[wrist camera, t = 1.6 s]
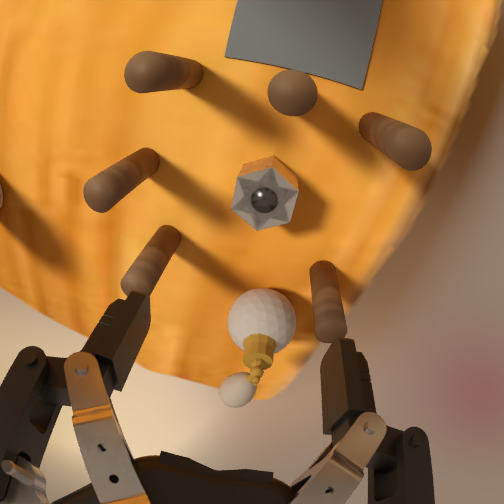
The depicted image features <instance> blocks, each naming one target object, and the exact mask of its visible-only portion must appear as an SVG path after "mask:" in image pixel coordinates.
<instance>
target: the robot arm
mask: <svg viewBox="0 0 504 504" xmlns="http://www.w3.org/2000/svg"><path fill="white" fill-rule="evenodd" d="M150 322H151V314H150V296H149V294H145V293H141V292H138V291H134V290H132V291H131V292H130V294H129V295H128V297H127V298H126V300H122V299H117V300H116V301H115V302H113V303H112V304H110V305H109V307H108V308H107V310H106V311H105V313H104V315H103V316H102V318H101V319H100V321H99V323H98V324H97V326H96V327H95V329H94V330H93V332H92V334H91V335H90V337H89V339H88V340H87V342H86V344H85V346H84V347H83V349H82V350H81V351H80V352H76V353H73V354H72V355H70V356H69V357H68V358H58V357H49V356H46V355H45V353H44V351H43V350H42V349H40V348H39V347H36V346H30V347H26V348H24V349H22V350H21V351H20V352H19V354H18V356H17V357H16V359H15V361H14V363H13V364H12V366H11V368H10V369H9V371H8V373H7V375H6V377H5V379H4V380H3V382H2V384H1V386H0V504H345V502H346V501H347V500H348V498H349V497H350V495H351V494H352V493H353V492H354V490H355V489H356V488H357V486H358V485H359V483H360V482H361V480H362V479H363V476H364V473H363V470H364V468H365V467H367V468H368V504H435V500H434V486H433V474H432V465H431V457H430V448H429V441H428V437H427V435H426V433H425V432H424V431H423V430H422V429H420V428H418V427H410V428H408V429H407V430H405V431H401V430H398V429H395V428H392V427H389V426H387V425H386V423H385V421H384V419H383V418H382V417H381V416H380V415H378V414H377V413H376V408H375V402H374V396H373V390H372V385H371V382H370V381H371V379H370V375H369V368H368V363H367V361H366V359H365V358H364V356H363V354H362V352H356V347H355V342H354V340H353V339H348V338H342V337H336V338H335V339H334V340H333V342H332V344H331V345H330V347H329V349H328V350H327V352H326V354H325V355H324V357H323V359H322V362H321V368H320V374H321V393H322V416H323V434H327V435H332V441H331V442H330V443H329V444H328V445H327V447H326V448H325V449H324V450H323V451H322V452H321V453H320V455H319V456H318V457H317V458H316V459H315V460H314V462H313V463H312V464H311V465H310V466H309V467H308V469H307V470H305V472H304V473H302V474H301V475H300V476H299V477H298V478H297V479H296V480H295V481H294V482H292V484H291V485H290V486H288V485H287V484H285V483H284V482H282V481H280V480H278V479H275V478H273V472H266V471H258V470H250V469H241V470H240V469H239V470H222V471H217V470H213V469H211V468H209V467H207V466H204V465H202V464H200V463H198V462H196V461H194V460H192V459H190V458H187V457H182V456H179V455H175V454H171V453H168V452H164V451H161V453H160V456H157V455H154V456H144V457H139V458H136V459H134V458H133V456H132V454H131V451H130V449H129V447H128V444H127V442H126V440H125V438H124V435H123V433H122V430H121V427H120V424H119V422H118V419H117V416H116V413H115V410H114V408H113V405H112V401H111V399H110V397H111V394H112V392H113V390H114V389H115V390H118V391H120V392H121V391H122V389H123V386H124V384H125V382H126V380H127V377H128V375H129V373H130V371H131V368H132V366H133V363H134V362H135V359H136V357H137V355H138V353H139V350H140V348H141V346H142V344H143V342H144V340H145V337H146V335H147V333H148V331H149V327H150ZM62 405H65V406H72V410H73V416H72V421H73V427H74V430H75V434H76V437H77V441H78V444H79V447H80V451H81V454H82V456H83V460H84V463H85V466H86V468H87V471H88V474H89V477H90V479H91V482H92V483H90V484H88V485H86V486H84V487H82V488H80V489H79V490H77V491H75V492H73V493H71V494H69V495H67V496H64V497H62V498H61V499H58V500H56V501H54V502H52V503H50V502H49V500H48V498H47V496H46V479H45V476H44V474H43V473H42V472H41V470H40V469H39V467H40V464H41V461H42V458H43V455H44V452H45V449H46V447H47V444H48V441H49V438H50V436H51V433H52V430H53V428H54V425H55V423H56V420H57V418H58V415H59V413H60V410H61V408H62Z"/></svg>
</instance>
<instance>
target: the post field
mask: <svg viewBox="0 0 504 504" xmlns="http://www.w3.org/2000/svg"><path fill="white" fill-rule="evenodd" d="M124 76H125V81H126V84H127V85H128V87H129V88H130V89H131V90H133V91H135V92H137V93H149V92H157V91H166V90H176V89H188V88H193V87H195V86H196V85H198V84H199V83H200V81H201V80H202V77H203V69H202V66H201V65H200V64H199V63H198V62H197V61H195V60H191V59H187V58H182V57H178V56H173V55H168V54H163V53H158V52H152V51H143V52H140V53H137V54H136V55H134V56H133V57H132V58H131V59H130V60H129V62H128V63H127V65H126V68H125V73H124ZM317 94H318V93H317V87H316V84H315V83H314V81H313V80H312V78H311V77H310V76H308V75H307V74H306V73H304V72H302V71H299V70H285V71H282V72H280V73H278V74H277V75H275V76H274V77H273V78H272V80H271V81H270V83H269V86H268V98H269V101H270V103H271V104H272V106H273V107H274V108H275V109H276V110H277V111H278V112H280V113H282V114H284V115H288V116H299V115H303V114H305V113H307V112H308V111H309V110H311V109H312V108H313V106H314V105H315V103H316V100H317ZM359 132H360V134H361V136H362V137H363V138H364V139H365V140H367V141H368V142H370V143H371V144H372V145H374V146H375V147H376V148H378V149H379V150H380V151H382V152H383V153H384V154H386V155H387V156H388V157H389V158H391V159H392V160H393V161H395V162H396V163H397V164H398V165H400V166H401V167H402V168H404V169H406V170H411V171H414V170H418V169H420V168H422V167H423V166H425V165H426V164H427V162H428V161H429V159H430V156H431V142H430V140H429V138H428V136H427V135H426V134H425V133H424V132H423V131H422V130H420V129H418V128H415V127H413V126H410V125H408V124H405V123H403V122H400V121H398V120H395V119H392V118H389V117H387V116H384V115H381V114H378V113H374V112H371V113H367V114H365V115H364V116H363V117H362V118H361V119H360V122H359ZM158 167H159V157H158V155H157V154H156V152H155V151H154V150H152V149H150V148H142V149H140V150H138V151H136V152H134V153H133V154H131V155H129V156H127V157H126V158H124V159H122V160H120V161H119V162H117V163H115V164H114V165H112V166H110V167H109V168H107V169H105V170H104V171H102V172H100V173H99V174H97V175H96V176H94V177H92V178H91V179H89V180H88V181H87V182H86V184H85V186H84V198H85V201H86V203H87V204H88V206H89V207H90V208H91V209H93V210H94V211H96V212H100V213H104V212H107V211H108V210H110V209H111V208H112V207H113V206H114V205H115V204H117V203H118V202H119V201H120V200H121V199H122V198H124V197H125V196H126V195H127V194H128V193H130V192H131V191H132V190H133V189H134V188H136V187H137V186H138V185H139V184H141V183H142V182H143V181H144V180H146V179H147V178H148V177H149V176H151V175H152V174H153V173H154V172H156V170H157V169H158ZM180 241H181V237H180V234H179V232H178V231H177V229H175V228H174V227H172V226H169V225H164V226H161V227H160V228H159V229H158V230H157V231H156V233H155V234H154V235H153V237H152V238H151V239H150V241H149V242H148V243H147V245H146V246H145V247H144V249H143V250H142V252H141V253H140V254H139V256H138V257H137V258H136V260H135V261H134V263H133V264H132V265H131V267H130V268H129V270H128V271H127V273H126V274H125V275H124V277H123V278H122V280H121V288H122V290H123V292H124V293H125V294H126V295H127V296H128V295H129V294H130V292H131V291H132V290H134V291H138V292H141V293H145V294H149V296H150V295H151V293H152V291H153V289H154V287H155V285H156V284H157V282H158V280H159V278H160V276H161V275H162V273H163V271H164V269H165V268H166V266H167V264H168V262H169V261H170V259H171V257H172V255H173V254H174V252H175V250H176V248H177V247H178V245H179V243H180ZM310 281H311V292H312V303H313V315H314V328H315V336H316V338H317V339H318V340H319V341H321V342H324V343H332V342H333V340H334V339H335V338H336V337H342V338H344V337H345V335H346V334H347V326H346V320H345V315H344V310H343V305H342V300H341V295H340V290H339V285H338V281H337V276H336V271H335V267H334V265H333V264H332V263H330V262H328V261H318V262H316V263H314V264H313V265H312V266H311V268H310Z"/></svg>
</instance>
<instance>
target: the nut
mask: <svg viewBox="0 0 504 504" xmlns="http://www.w3.org/2000/svg"><path fill="white" fill-rule="evenodd" d="M298 193H299V188H298V181H297V176H296V175H295V174H294V173H293V172H291V171H290V170H289V169H288V168H287V167H286V166H285V165H284V164H283V163H282V162H281V161H279V160H278V159H277V158H276V157H275V156H270V157H267V158H263V159H260V160H256V161H253V162H249V163H246V164H243V166H242V168H241V170H240V173H239V175H238V177H237V181H236V186H235V192H234V197H233V202H232V208H231V210H233V211H234V212H235V213H236V214H237V215H239V216H240V217H241V218H242V219H243V220H245V221H246V222H247V223H248V224H250V225H251V226H252V227H253V228H254V229H256V230H257V231H258V230H262V229H266V228H270V227H274V226H278V225H282V224H286V223H290V220H291V217H292V214H293V210H294V207H295V203H296V200H297V196H298Z"/></svg>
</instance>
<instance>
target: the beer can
mask: <svg viewBox="0 0 504 504" xmlns="http://www.w3.org/2000/svg"><path fill="white" fill-rule="evenodd" d="M2 203H3V192H2V187H1V184H0V208H1V206H2Z"/></svg>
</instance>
